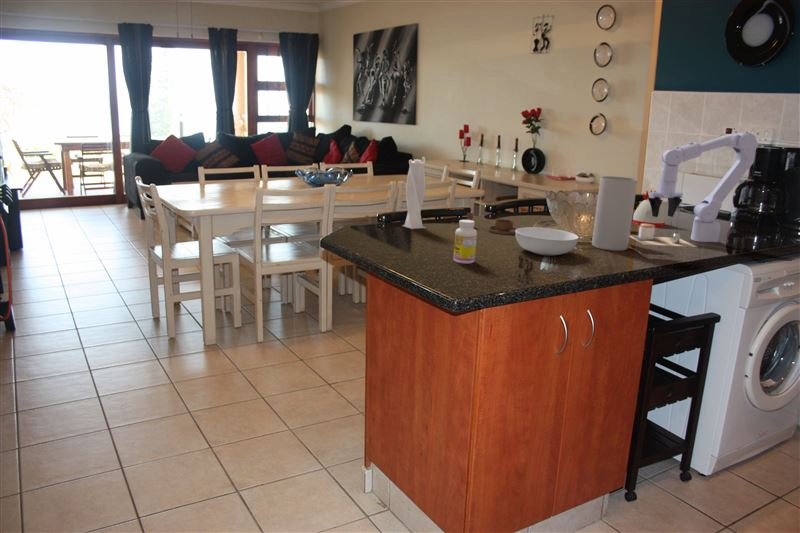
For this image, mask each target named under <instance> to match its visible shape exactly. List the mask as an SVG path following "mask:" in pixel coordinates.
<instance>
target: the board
mask: <svg viewBox="0 0 800 533" xmlns="http://www.w3.org/2000/svg"><path fill="white" fill-rule="evenodd" d="M654 237H655V238H657V239H659V240H660V241H640V240H638V239H636V238H634V237H632V236H631V235H630V236H629V238H631V239H633V240H634V241H637V242H639V243H640V244H642V245H644V246H645V245H646V246H647V245H648V246H664V247H665V246H666V247H667V246H669V247H687V248H688V247H689V248H698V246H697V245H695V244H693V243H691V242H688V241H686V240H684V239H682V238H680V241H679V244H674V243H672V241H673V236H672V237H671V236H669V237H667V236H654Z"/></svg>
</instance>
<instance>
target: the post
mask: <svg viewBox="0 0 800 533" xmlns="http://www.w3.org/2000/svg"><path fill="white" fill-rule="evenodd" d="M672 238H673V241H672V243H674V244H679V241H680V239H681V233H677V232H676V233H675V232H674V233H673V235H672Z"/></svg>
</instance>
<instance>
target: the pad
mask: <svg viewBox="0 0 800 533" xmlns="http://www.w3.org/2000/svg"><path fill="white" fill-rule="evenodd" d="M638 235H639V234H636V235H635V234H630V236H632V237H634V238H636V239H638V240H640V241H660V240H659V239H657V238H655V237H656V236H654V237H653V239H643V238H639V237H638Z"/></svg>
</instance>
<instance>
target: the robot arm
mask: <svg viewBox="0 0 800 533" xmlns="http://www.w3.org/2000/svg"><path fill="white" fill-rule="evenodd" d="M758 146H759V144H758V140H757V137H756V135H755V134H754V133H751V132H743V131H738V132H735V133H729V134H726V135H722V136H719V137H717V138H716V137H715V138H714V139H711V140H708V141H705V142H702V143H699V142H696V141H695V142H693V141H689V142H688V144H685V145H682V146H678V145H677V146H675V147H674V149H668V150H666V151H664V152H663V155H662V156H661V160H662V162H663V164H662V168H661V172H660V180H659V181H660V182H659V185H658V186H659V187H658V191H656V192H654V191H652V192H651V191H650V192H648V195H649V199H648V200H649V202H650V205H651V209H652V216H654V217H657V216H658V213H659V208H660V205H662V203H663V199H667V204H668V209H667V216H668V217H671V218H673V217H674V215H675V213H676V210H677V209H678V207H679V205H680V204H681V203H682V202H683V195H684V194H683V192H676V185H677V179H678V172H679V165H680V164H681V162H682V163H683V162H688V161H691V160H693V159H697V158H699V157H701V156H702V154H703V153H704V152H708V151H712V150H715V149H719V148H723V147H731V148H732V149H733V151H734V152H735V156H736V161H735V162H734V163H733V164H732V166H731V167H730V169H728V171H726V174H725V175H724V176H722V177H723V178H722V179H721V180H720V181H719V182H718V184H717V185H716V186H715V188H713V189H712V191H711V192H710V194H709V195H707V196H706V197H704V198H703V199H702V200H701V201H699V202H698V203H697V204H696V205H694V208H693V213H694V215H695V217H694V218H693V223H692V229H691V235H690V240H692V241H697V242H701V243H719V240H720V236H721V228H722V227H721V224H720V223H719V221H716V220H715V219H717V217H718V215H719V214H718V213H719V211H720V210H721V208H722V204H723V202H724V201H725V199H726V198H727V196H728V195H729V194H730V193H731V192H732V190H734V188H735V186H736V185H737V184H738V183H739V182H740V180H741V179H743V177H744V175H745V174H746V172H748V170H750V168H751V166H752V165H753V164H754V162H755V158H756V153H757V152H756V150H757V149H758ZM659 198H661V199H659Z"/></svg>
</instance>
